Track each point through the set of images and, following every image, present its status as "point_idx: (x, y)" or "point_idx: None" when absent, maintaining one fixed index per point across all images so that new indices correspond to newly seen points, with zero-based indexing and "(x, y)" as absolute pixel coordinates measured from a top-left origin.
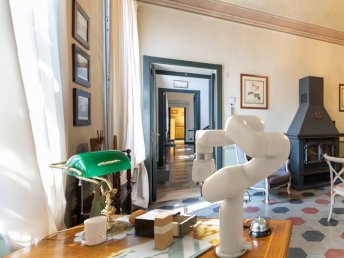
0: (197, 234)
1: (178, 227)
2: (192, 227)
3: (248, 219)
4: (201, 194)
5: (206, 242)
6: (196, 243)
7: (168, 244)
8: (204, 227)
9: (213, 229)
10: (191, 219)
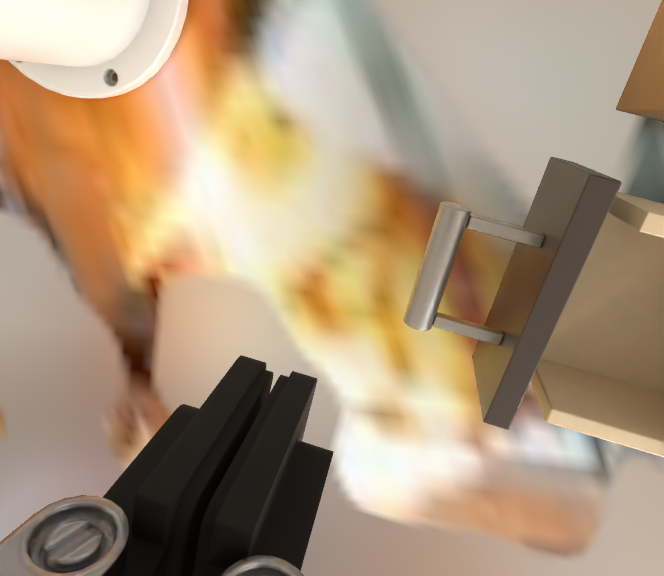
0: None
1: (621, 215)
2: (464, 208)
3: None
4: (290, 399)
5: (317, 114)
6: (394, 97)
7: (645, 48)
8: (418, 379)
9: (335, 337)
10: (514, 334)
